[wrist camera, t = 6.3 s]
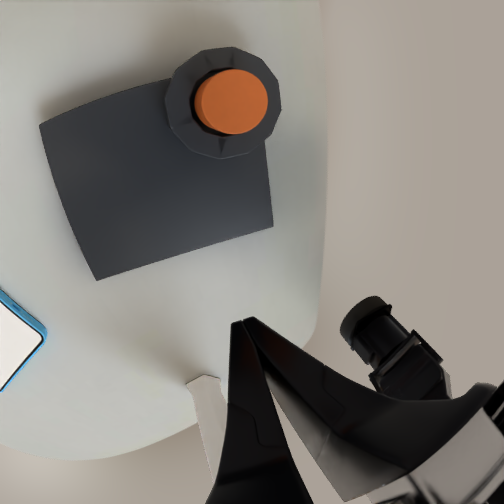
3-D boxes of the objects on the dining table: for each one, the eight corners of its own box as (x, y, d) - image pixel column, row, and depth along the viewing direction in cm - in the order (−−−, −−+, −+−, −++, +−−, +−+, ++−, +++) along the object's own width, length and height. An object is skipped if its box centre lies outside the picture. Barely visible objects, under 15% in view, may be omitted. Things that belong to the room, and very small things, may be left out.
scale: (254, 52, 14) (273, 44, 12) (274, 218, 21) (292, 235, 18) (42, 108, 11) (22, 109, 9) (98, 271, 18) (93, 297, 15)
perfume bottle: (175, 391, 27) (212, 515, 15) (197, 370, 26) (246, 504, 14) (206, 398, 30) (248, 509, 17) (229, 379, 29) (281, 496, 17)
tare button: (249, 70, 12) (264, 66, 11) (256, 125, 14) (271, 128, 12) (189, 79, 12) (196, 74, 10) (199, 136, 13) (207, 140, 12)
